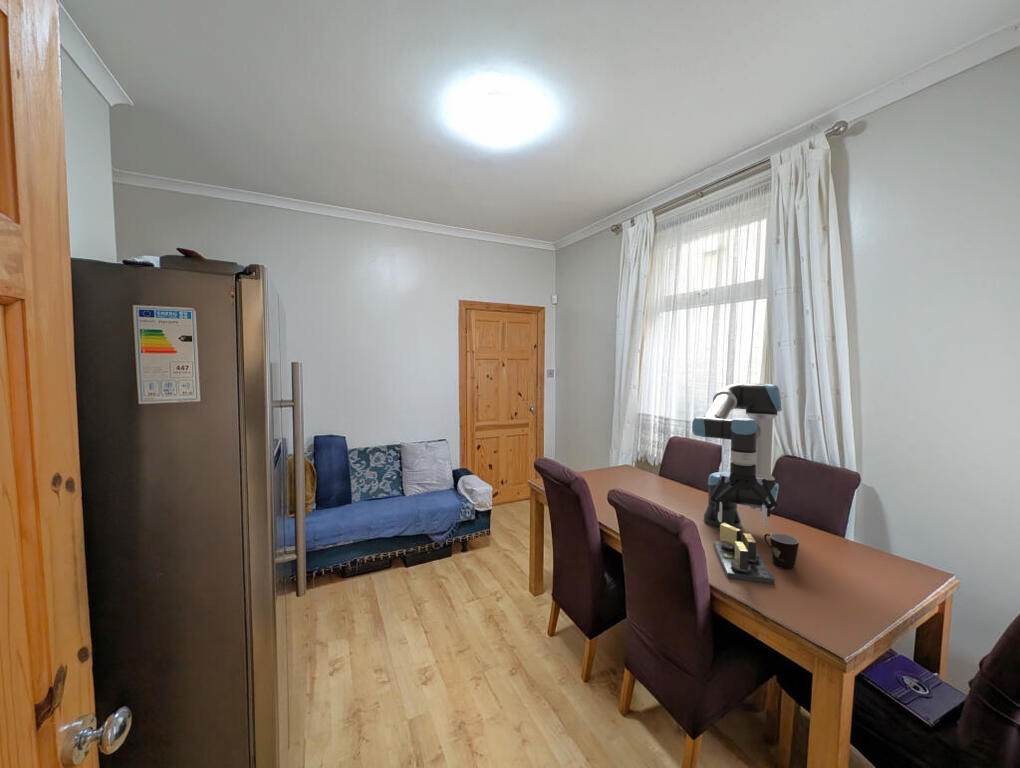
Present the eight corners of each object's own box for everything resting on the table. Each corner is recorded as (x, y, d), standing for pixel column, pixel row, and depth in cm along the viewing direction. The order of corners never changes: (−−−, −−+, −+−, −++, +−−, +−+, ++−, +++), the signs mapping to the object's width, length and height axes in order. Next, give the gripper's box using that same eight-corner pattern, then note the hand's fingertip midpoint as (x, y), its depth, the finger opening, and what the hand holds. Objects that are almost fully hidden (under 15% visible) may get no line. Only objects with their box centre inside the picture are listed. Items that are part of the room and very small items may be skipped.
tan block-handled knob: (716, 544, 152) (716, 524, 151) (727, 541, 154) (727, 522, 153) (733, 552, 145) (734, 532, 144) (744, 549, 147) (744, 529, 147)
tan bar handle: (728, 561, 139) (729, 540, 138) (747, 564, 137) (748, 542, 136) (733, 572, 132) (734, 550, 131) (753, 575, 130) (754, 552, 129)
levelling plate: (713, 545, 155) (713, 539, 155) (753, 550, 151) (753, 544, 151) (727, 578, 132) (727, 571, 132) (774, 584, 128) (774, 577, 128)
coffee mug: (803, 572, 135) (804, 545, 134) (776, 570, 137) (776, 543, 136) (786, 555, 146) (787, 530, 146) (761, 554, 148) (762, 528, 147)
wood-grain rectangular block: (737, 552, 145) (737, 532, 144) (755, 555, 143) (755, 534, 142) (742, 562, 138) (742, 541, 137) (761, 565, 136) (762, 543, 136)
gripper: (705, 463, 132) (704, 523, 133) (789, 468, 125) (787, 531, 126) (701, 457, 139) (700, 514, 141) (781, 462, 132) (779, 522, 133)
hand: (741, 523), depth 133 cm, fingers open, 13 cm apart
